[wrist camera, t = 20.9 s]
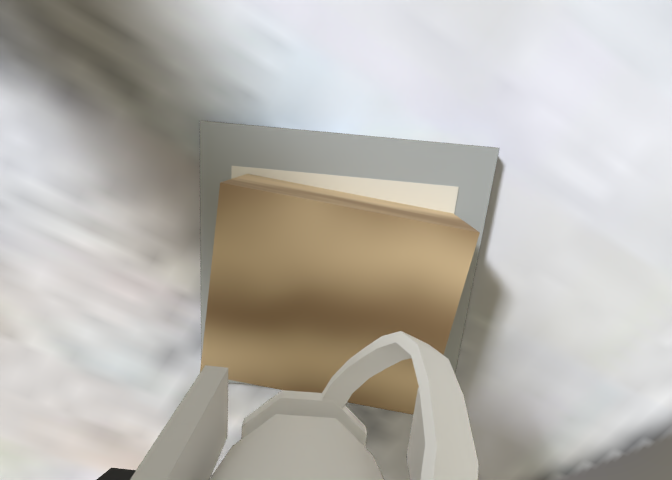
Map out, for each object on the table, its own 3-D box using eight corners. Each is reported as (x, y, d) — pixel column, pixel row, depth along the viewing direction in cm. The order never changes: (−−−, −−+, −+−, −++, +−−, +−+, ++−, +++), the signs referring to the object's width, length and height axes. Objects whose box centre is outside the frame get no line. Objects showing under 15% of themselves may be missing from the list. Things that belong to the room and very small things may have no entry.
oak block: (247, 173, 23) (220, 182, 18) (453, 213, 23) (479, 232, 18) (228, 330, 26) (199, 374, 21) (411, 365, 26) (424, 416, 21)
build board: (207, 121, 24) (199, 120, 22) (492, 147, 23) (499, 147, 22) (207, 369, 28) (200, 379, 27) (444, 393, 28) (449, 405, 27)
